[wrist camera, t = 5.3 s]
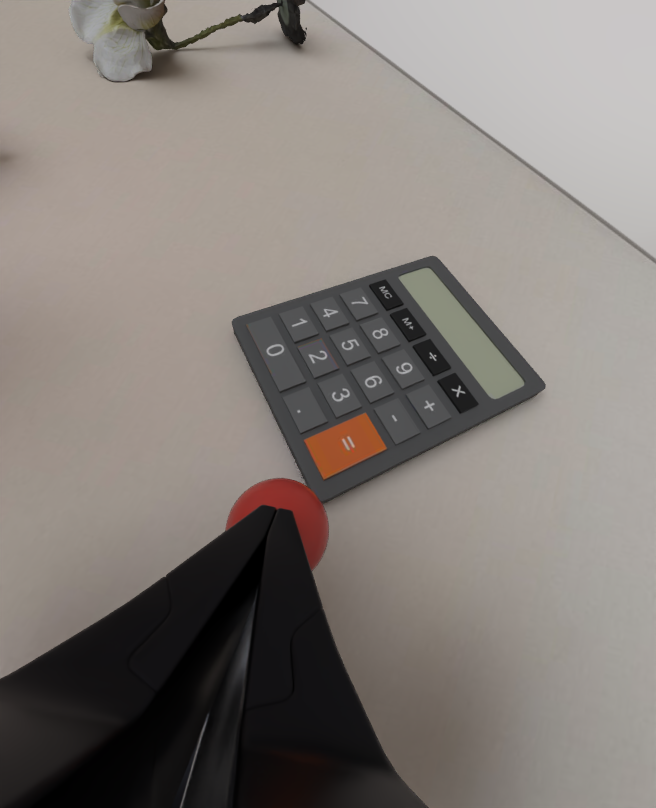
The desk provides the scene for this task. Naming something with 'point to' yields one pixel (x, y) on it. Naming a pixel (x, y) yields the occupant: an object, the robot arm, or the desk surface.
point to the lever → (247, 643)
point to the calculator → (380, 371)
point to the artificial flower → (152, 31)
